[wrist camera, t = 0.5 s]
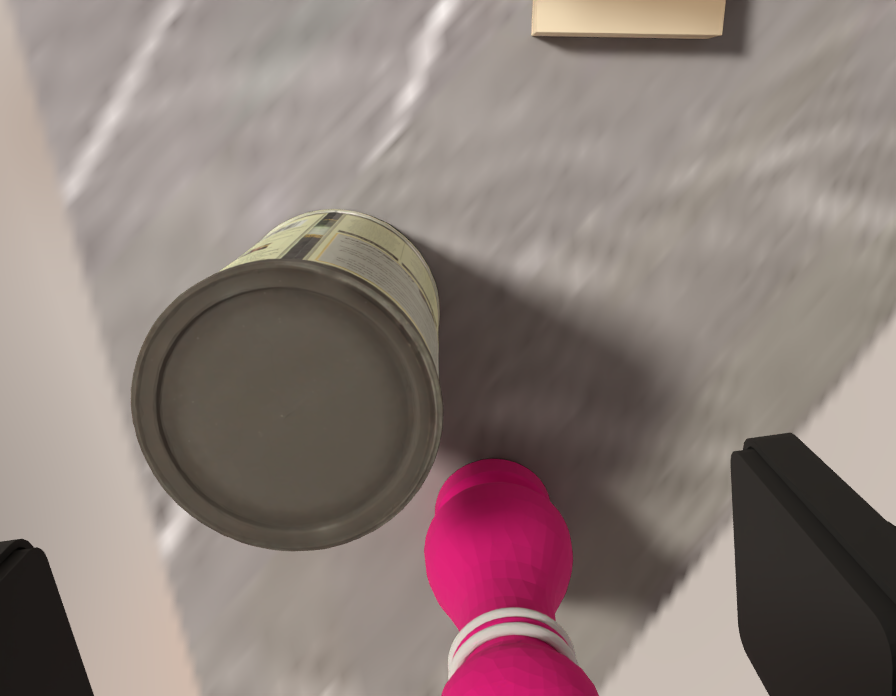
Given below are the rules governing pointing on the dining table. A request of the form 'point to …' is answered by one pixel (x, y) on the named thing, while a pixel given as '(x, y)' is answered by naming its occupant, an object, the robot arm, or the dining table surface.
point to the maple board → (629, 18)
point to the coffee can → (297, 385)
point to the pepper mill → (503, 583)
